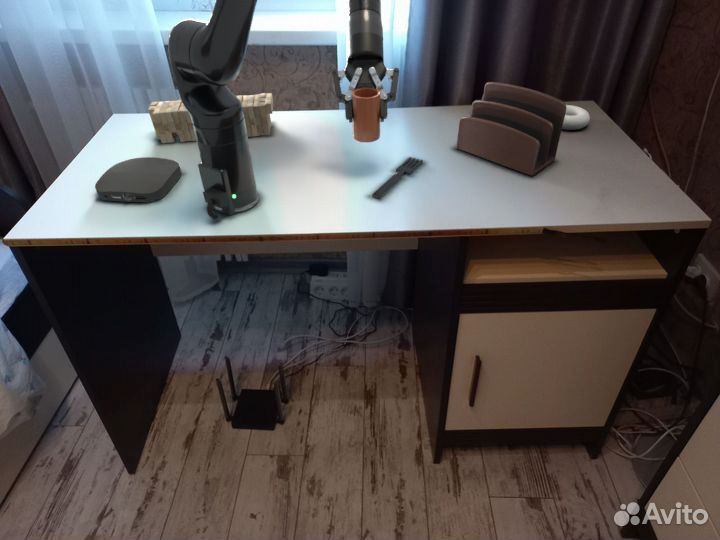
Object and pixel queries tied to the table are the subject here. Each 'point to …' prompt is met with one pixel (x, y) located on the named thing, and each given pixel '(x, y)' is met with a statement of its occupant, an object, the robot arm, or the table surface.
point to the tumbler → (366, 114)
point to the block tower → (177, 120)
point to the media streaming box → (138, 180)
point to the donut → (575, 118)
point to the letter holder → (513, 127)
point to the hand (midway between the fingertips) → (366, 120)
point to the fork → (398, 176)
